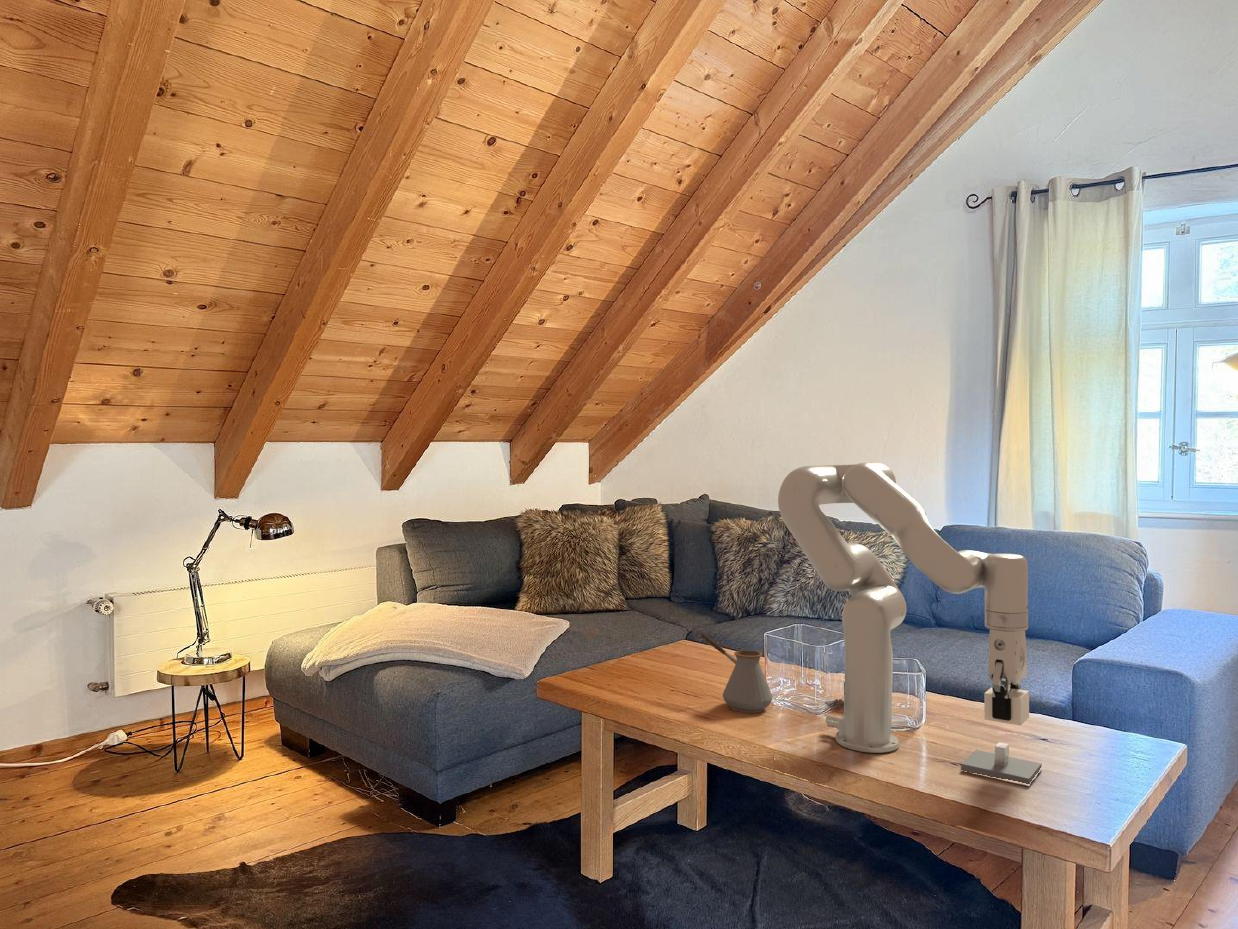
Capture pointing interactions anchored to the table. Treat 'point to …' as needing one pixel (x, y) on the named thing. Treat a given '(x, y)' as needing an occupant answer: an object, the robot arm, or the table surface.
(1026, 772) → the plate
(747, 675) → the coffee pot
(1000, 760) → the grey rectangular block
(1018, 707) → the cream coin box
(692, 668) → the table surface
